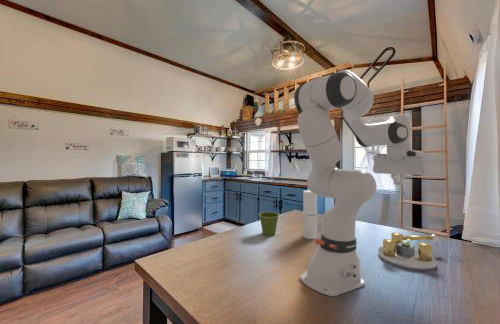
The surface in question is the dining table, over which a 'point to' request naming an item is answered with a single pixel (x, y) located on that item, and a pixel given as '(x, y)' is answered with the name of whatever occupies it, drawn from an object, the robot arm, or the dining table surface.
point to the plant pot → (268, 222)
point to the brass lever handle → (411, 238)
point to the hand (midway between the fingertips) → (398, 184)
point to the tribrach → (408, 255)
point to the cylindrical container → (309, 215)
